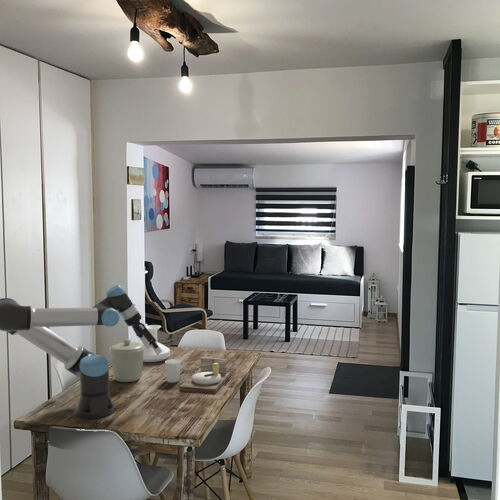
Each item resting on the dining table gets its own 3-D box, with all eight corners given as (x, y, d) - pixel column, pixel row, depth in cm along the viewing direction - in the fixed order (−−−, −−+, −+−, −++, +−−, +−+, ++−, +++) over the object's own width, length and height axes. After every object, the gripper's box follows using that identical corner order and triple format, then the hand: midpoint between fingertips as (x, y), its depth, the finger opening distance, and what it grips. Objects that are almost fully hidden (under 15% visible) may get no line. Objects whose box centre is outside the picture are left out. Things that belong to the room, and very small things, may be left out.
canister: (108, 386, 258) (107, 344, 256) (110, 375, 275) (109, 335, 274) (146, 383, 261) (145, 342, 260) (145, 373, 279) (144, 334, 278)
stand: (215, 393, 247) (215, 374, 246) (179, 390, 251) (179, 372, 250) (230, 376, 273) (230, 359, 272) (198, 373, 277) (198, 356, 277)
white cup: (178, 383, 262) (177, 363, 261) (163, 382, 263) (162, 363, 262) (183, 378, 269) (182, 359, 269) (168, 377, 271) (168, 358, 270)
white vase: (127, 360, 302) (127, 328, 301) (152, 353, 319) (152, 321, 317) (152, 366, 291) (152, 332, 289) (177, 358, 307) (176, 325, 306)
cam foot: (200, 386, 250) (199, 371, 249) (187, 378, 262) (187, 364, 261) (225, 381, 257) (225, 366, 256) (212, 374, 269) (212, 359, 268)
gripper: (146, 314, 234) (170, 350, 241) (128, 306, 255) (151, 340, 262) (132, 324, 231) (157, 360, 238) (115, 316, 252) (139, 349, 259)
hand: (154, 350), depth 250 cm, fingers open, 13 cm apart
